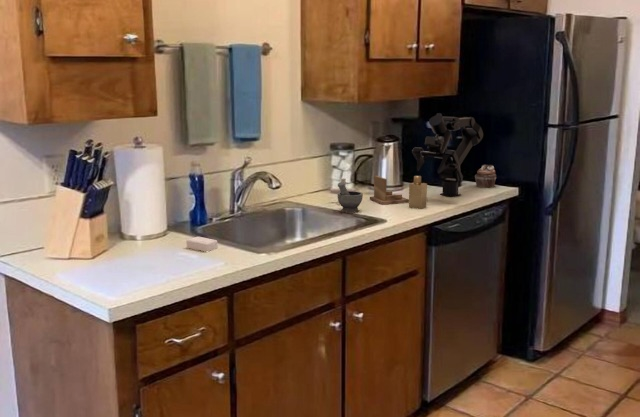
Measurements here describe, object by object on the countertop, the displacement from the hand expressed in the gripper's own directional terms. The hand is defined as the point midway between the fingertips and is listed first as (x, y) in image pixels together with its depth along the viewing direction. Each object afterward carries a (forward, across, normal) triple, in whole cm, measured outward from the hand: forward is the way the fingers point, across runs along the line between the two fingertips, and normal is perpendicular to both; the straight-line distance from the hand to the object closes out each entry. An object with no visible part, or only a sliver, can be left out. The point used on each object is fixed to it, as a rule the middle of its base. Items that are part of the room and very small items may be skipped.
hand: (427, 171), depth 268 cm
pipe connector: (+22, -29, -3) cm, 37 cm away
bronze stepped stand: (+12, -16, +7) cm, 21 cm away
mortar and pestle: (+30, -18, -11) cm, 37 cm away
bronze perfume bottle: (+15, 0, +4) cm, 15 cm away
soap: (+80, -26, -60) cm, 104 cm away
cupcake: (-26, +4, +45) cm, 52 cm away
